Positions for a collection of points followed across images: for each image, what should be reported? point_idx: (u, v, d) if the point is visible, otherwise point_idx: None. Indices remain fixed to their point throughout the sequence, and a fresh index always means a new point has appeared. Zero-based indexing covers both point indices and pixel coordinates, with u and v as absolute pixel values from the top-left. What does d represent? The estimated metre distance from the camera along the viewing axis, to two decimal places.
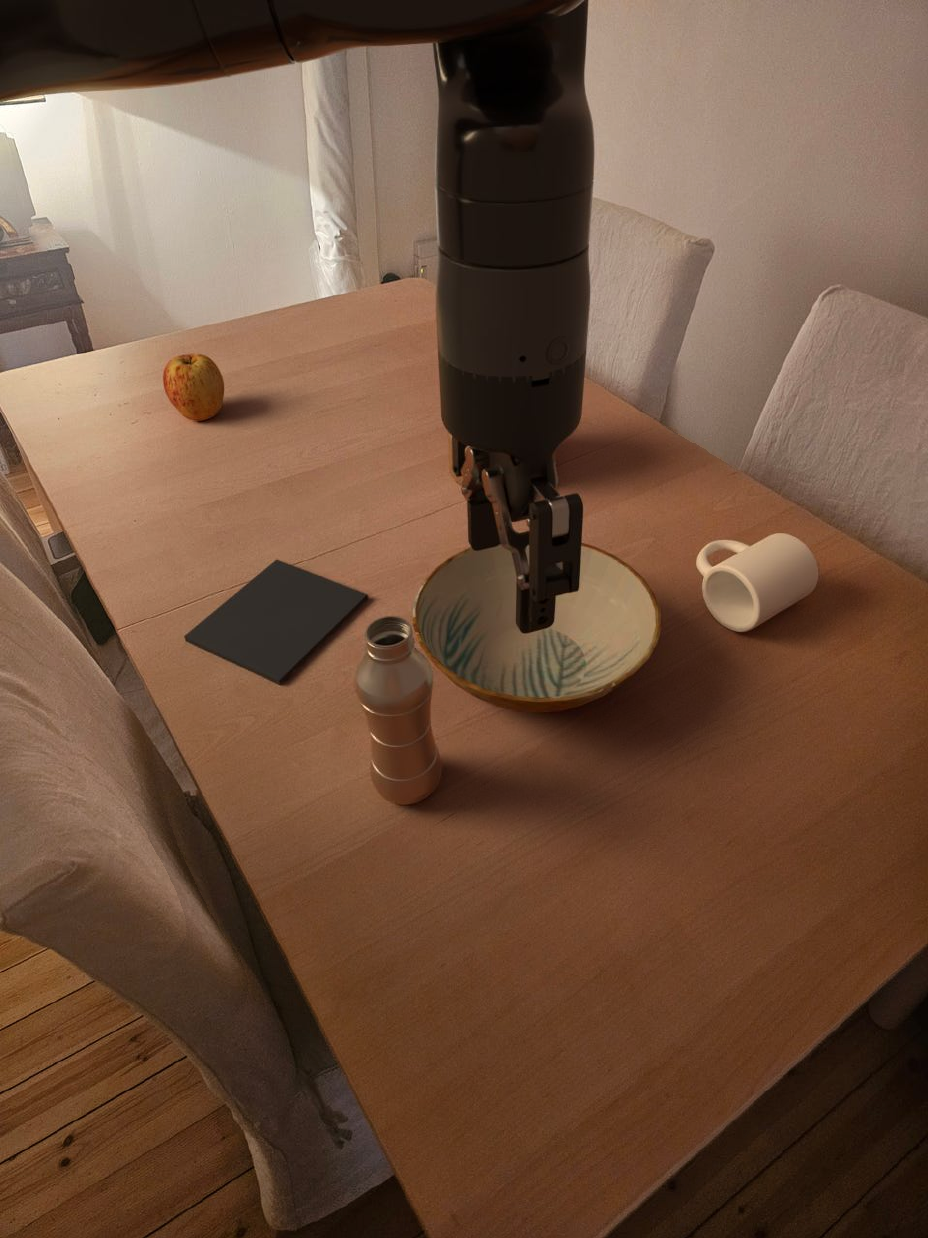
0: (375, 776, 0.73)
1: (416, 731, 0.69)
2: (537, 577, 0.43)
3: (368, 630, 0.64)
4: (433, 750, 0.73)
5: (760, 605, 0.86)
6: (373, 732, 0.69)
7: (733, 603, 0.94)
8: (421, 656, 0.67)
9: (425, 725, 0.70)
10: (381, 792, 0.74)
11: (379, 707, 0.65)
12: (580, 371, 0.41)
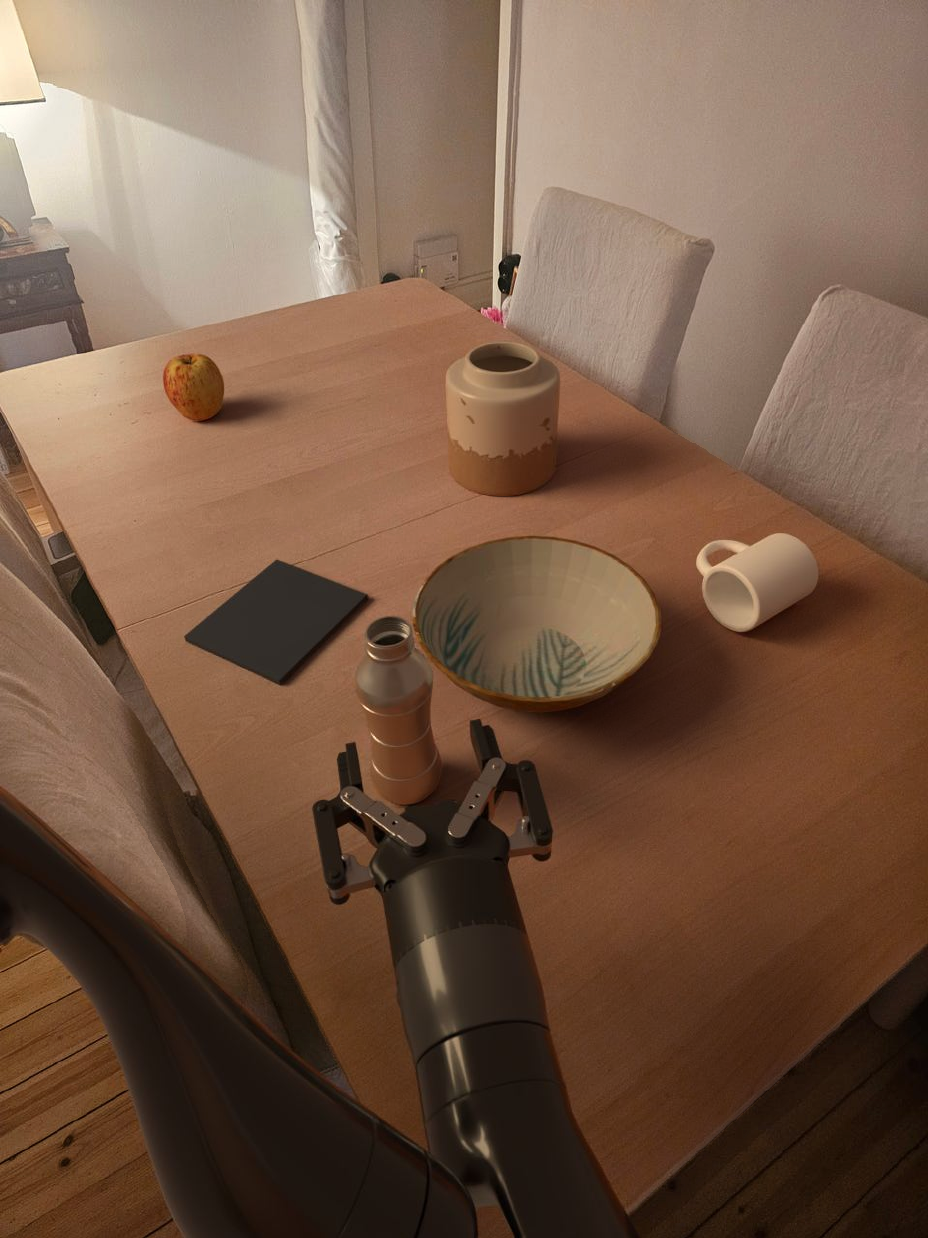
0: (375, 776, 0.73)
1: (416, 731, 0.69)
2: (315, 827, 0.50)
3: (368, 630, 0.64)
4: (433, 750, 0.73)
5: (760, 605, 0.86)
6: (373, 732, 0.69)
7: (733, 603, 0.94)
8: (421, 656, 0.67)
9: (425, 725, 0.70)
10: (381, 792, 0.74)
11: (379, 707, 0.65)
12: None
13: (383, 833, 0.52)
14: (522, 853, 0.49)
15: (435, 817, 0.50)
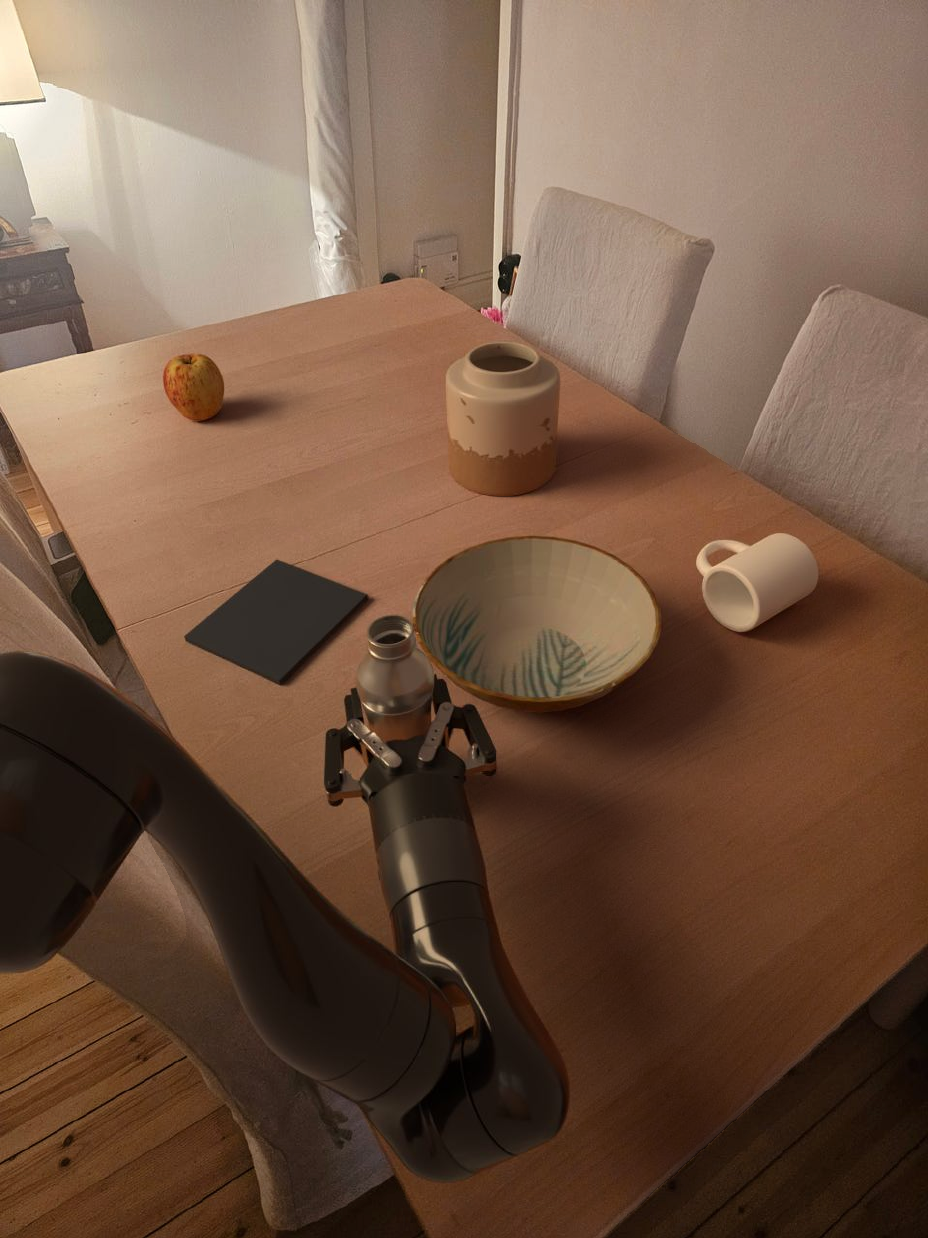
0: None
1: (417, 730, 0.69)
2: (325, 747, 0.66)
3: (370, 629, 0.64)
4: None
5: (760, 605, 0.86)
6: (374, 731, 0.69)
7: (733, 603, 0.94)
8: (422, 655, 0.67)
9: (426, 724, 0.70)
10: None
11: (380, 706, 0.65)
12: None
13: None
14: (475, 771, 0.65)
15: (409, 748, 0.65)
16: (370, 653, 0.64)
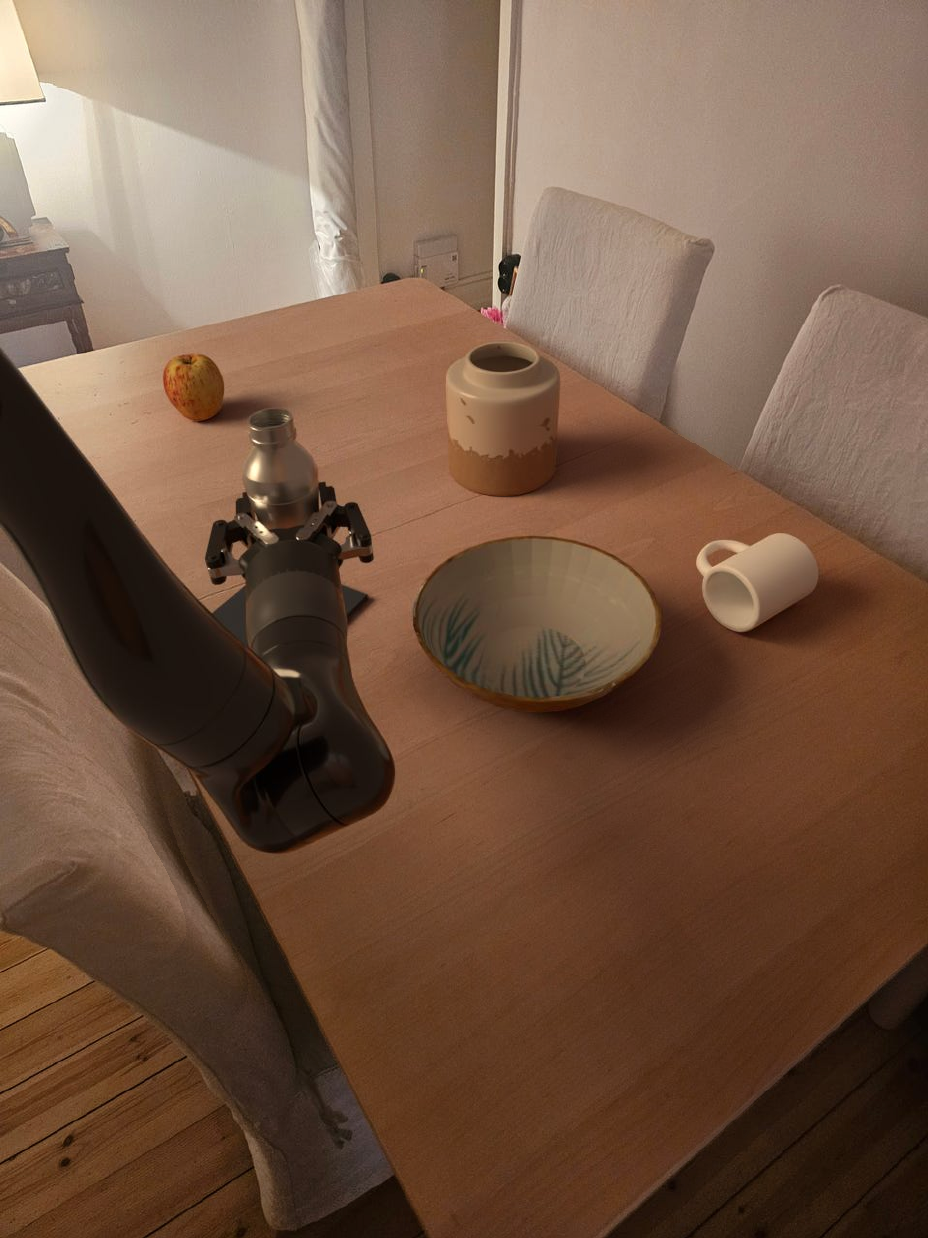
0: None
1: None
2: None
3: (252, 418, 0.68)
4: None
5: (760, 605, 0.86)
6: None
7: (733, 603, 0.94)
8: (305, 450, 0.71)
9: None
10: None
11: (263, 494, 0.69)
12: None
13: None
14: (351, 555, 0.69)
15: (290, 533, 0.69)
16: (251, 440, 0.68)
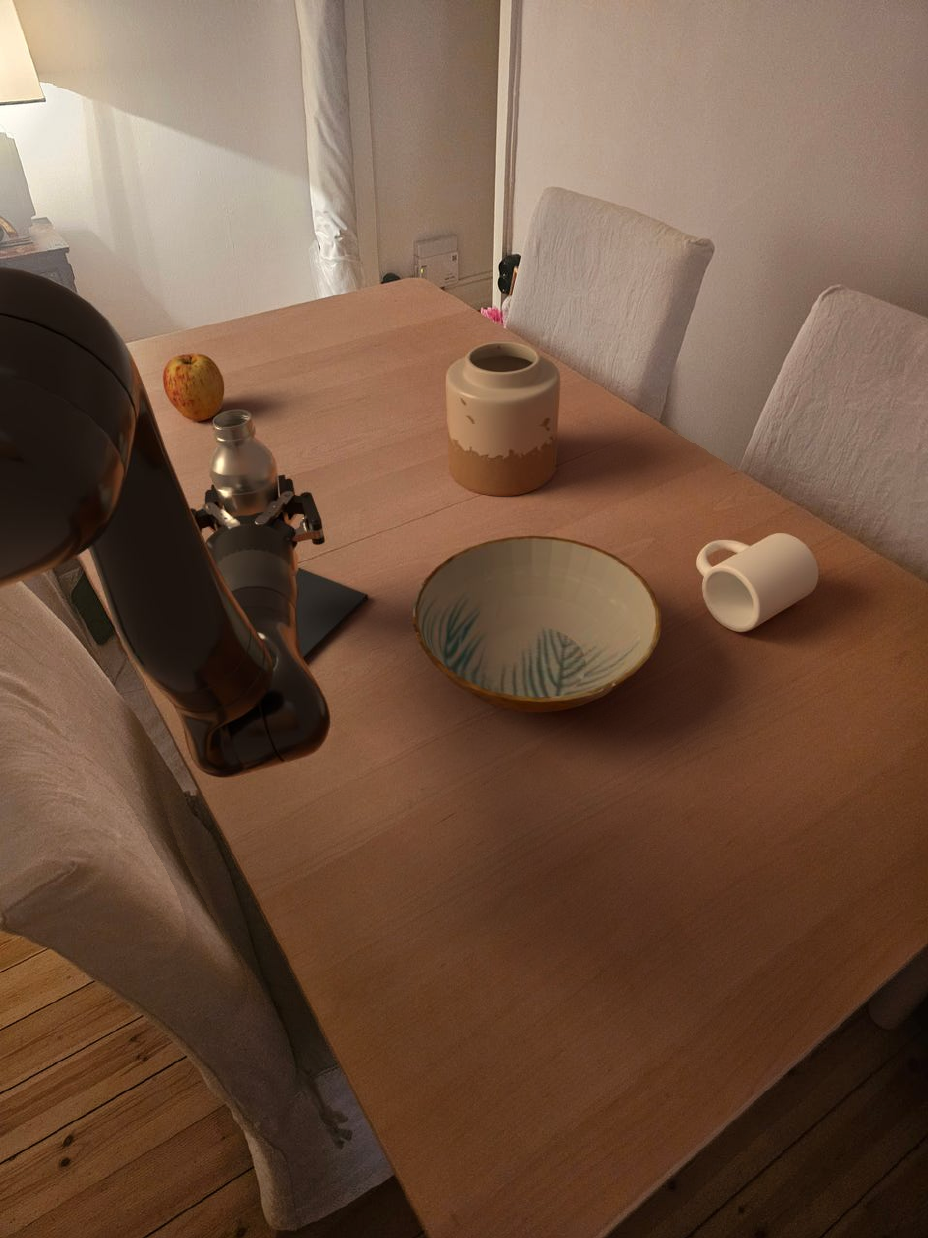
0: None
1: None
2: None
3: (216, 419, 0.78)
4: None
5: (760, 605, 0.86)
6: None
7: (733, 603, 0.94)
8: (264, 447, 0.81)
9: None
10: None
11: (227, 485, 0.79)
12: None
13: None
14: (304, 538, 0.79)
15: (251, 519, 0.79)
16: (216, 438, 0.78)
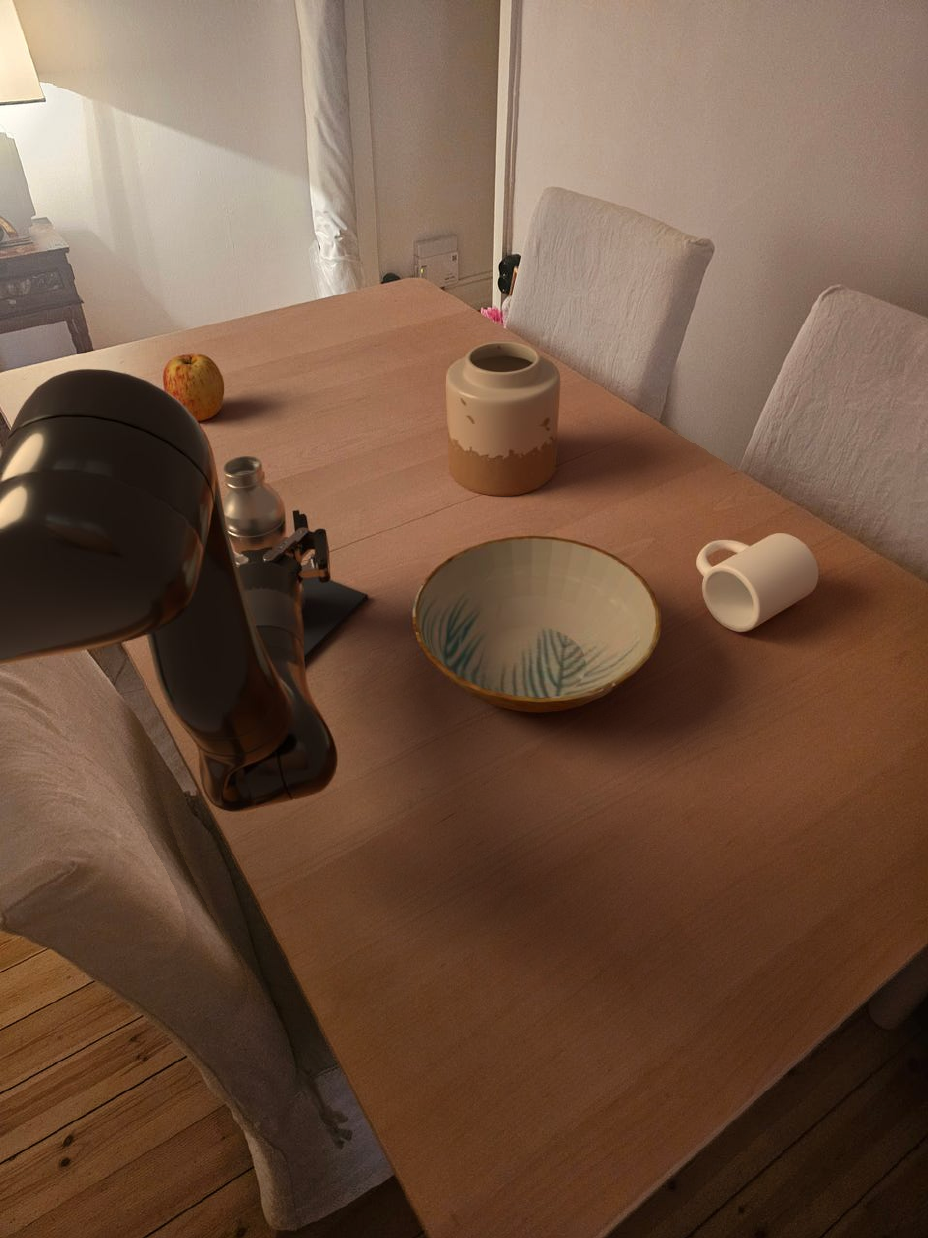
0: None
1: None
2: None
3: (227, 465, 0.82)
4: None
5: (760, 605, 0.86)
6: None
7: (733, 603, 0.94)
8: (273, 491, 0.84)
9: None
10: None
11: (237, 528, 0.82)
12: None
13: None
14: (310, 575, 0.82)
15: (258, 554, 0.82)
16: (226, 484, 0.81)
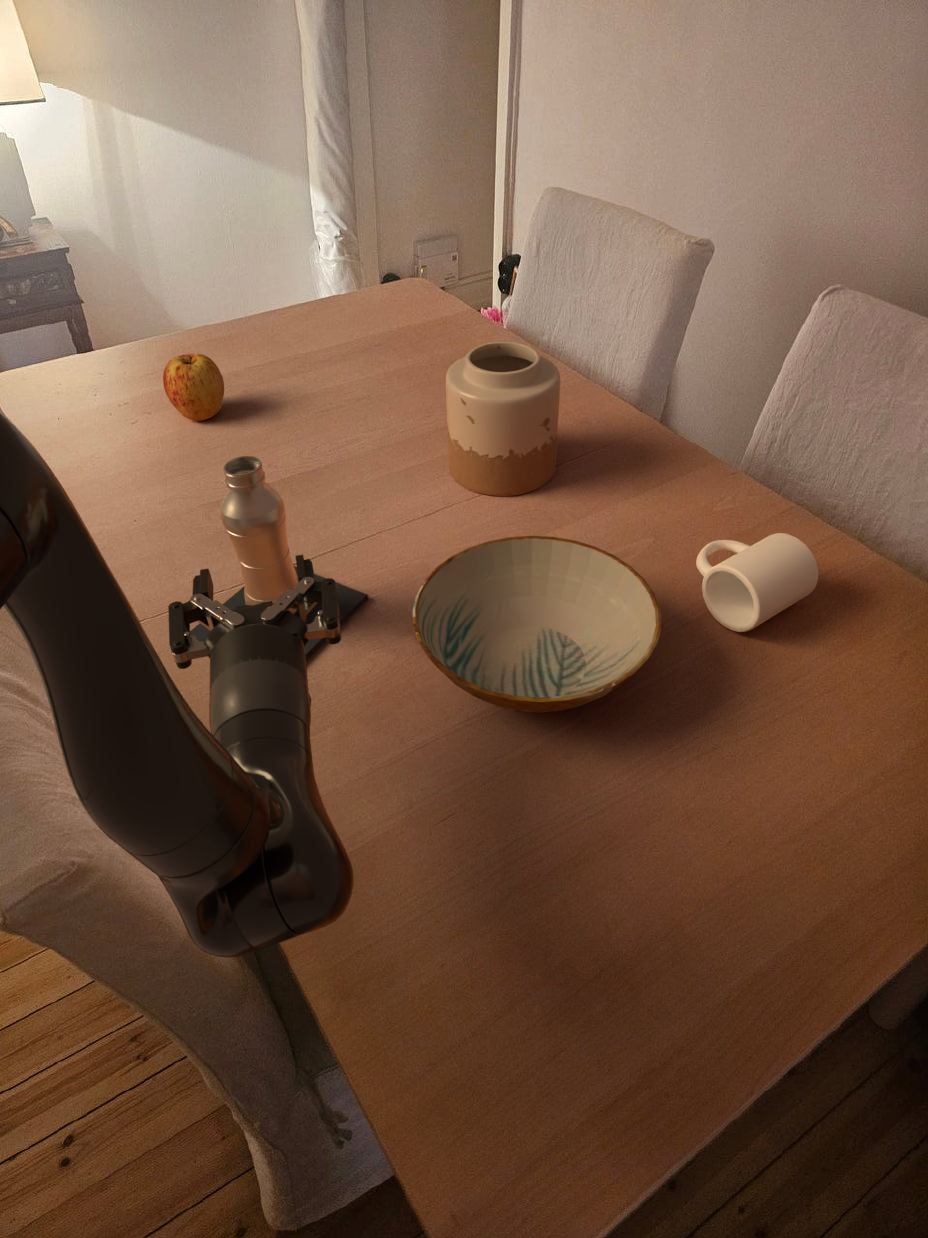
0: (247, 599, 0.91)
1: (272, 555, 0.86)
2: None
3: (227, 465, 0.82)
4: (293, 578, 0.90)
5: (760, 605, 0.86)
6: (239, 556, 0.86)
7: (733, 603, 0.94)
8: (273, 491, 0.84)
9: (281, 551, 0.87)
10: None
11: (237, 528, 0.82)
12: None
13: None
14: (316, 636, 0.69)
15: (256, 611, 0.69)
16: (227, 484, 0.81)
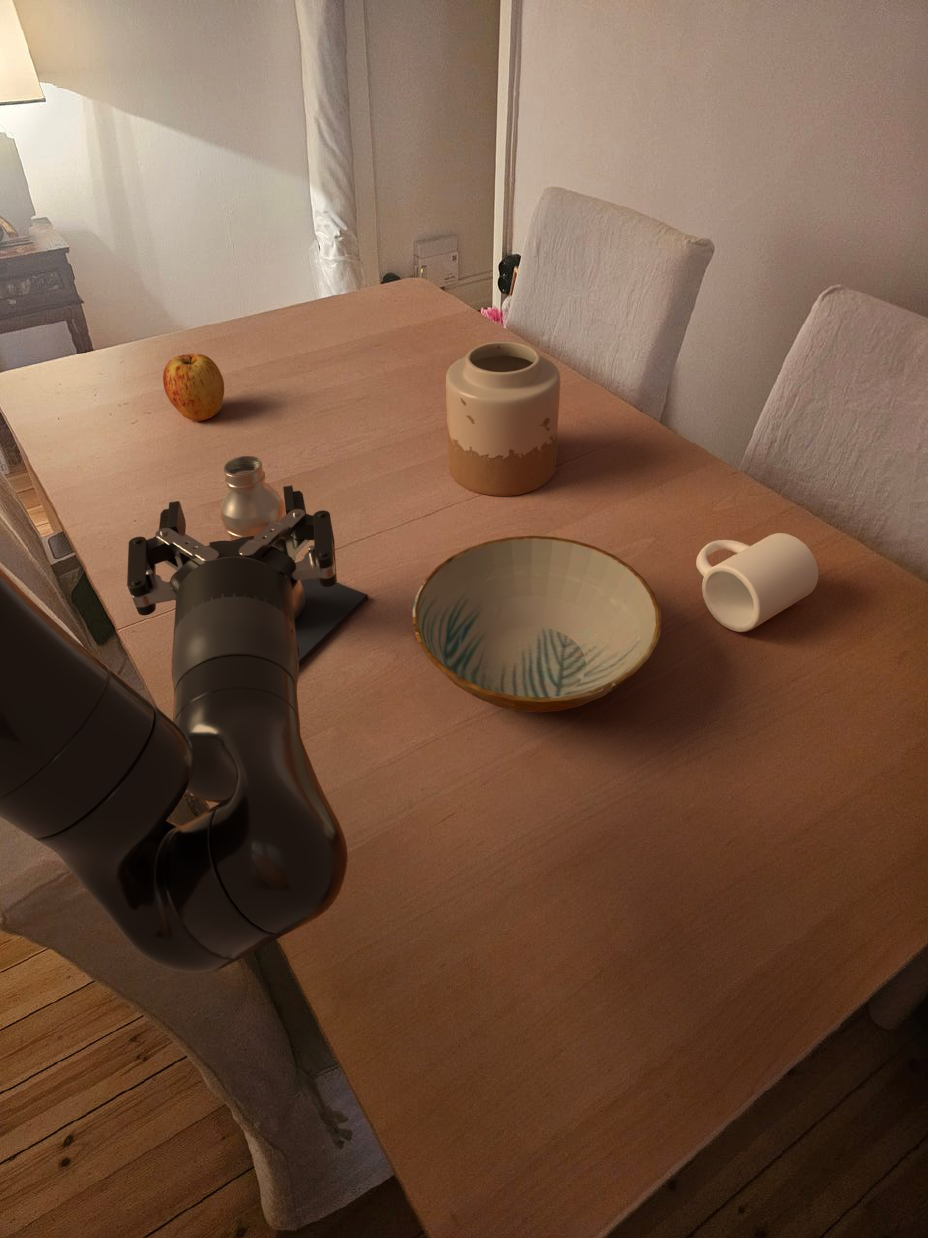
0: None
1: None
2: (128, 553, 0.57)
3: (227, 465, 0.82)
4: None
5: (760, 605, 0.86)
6: None
7: (733, 603, 0.94)
8: (273, 491, 0.84)
9: None
10: None
11: (237, 528, 0.82)
12: None
13: None
14: (307, 576, 0.57)
15: (234, 547, 0.57)
16: (227, 484, 0.81)
